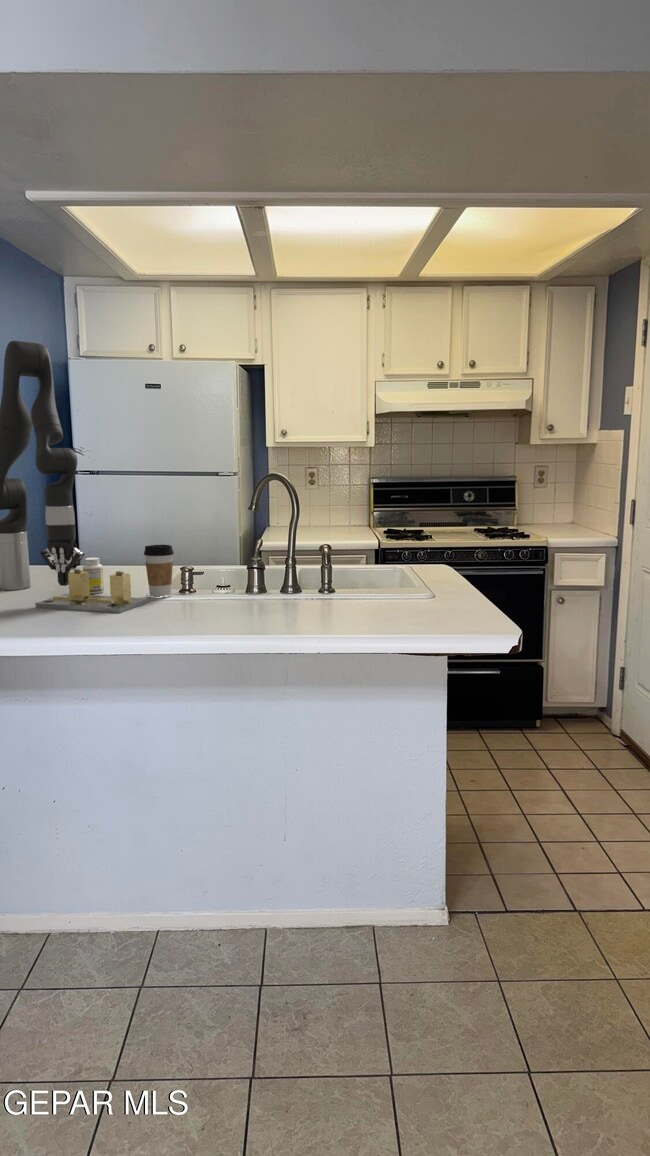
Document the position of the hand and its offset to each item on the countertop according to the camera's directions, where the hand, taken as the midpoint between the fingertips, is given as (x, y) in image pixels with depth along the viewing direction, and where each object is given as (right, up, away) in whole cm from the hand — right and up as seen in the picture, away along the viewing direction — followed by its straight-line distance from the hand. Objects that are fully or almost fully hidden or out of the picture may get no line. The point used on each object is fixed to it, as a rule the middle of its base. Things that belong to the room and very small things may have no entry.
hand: (64, 585), depth 212 cm
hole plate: (+8, -5, -1) cm, 10 cm away
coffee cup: (+24, -4, +10) cm, 27 cm away
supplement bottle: (+3, -3, +17) cm, 17 cm away
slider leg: (+4, -4, -2) cm, 6 cm away
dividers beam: (+8, -4, -3) cm, 9 cm away
